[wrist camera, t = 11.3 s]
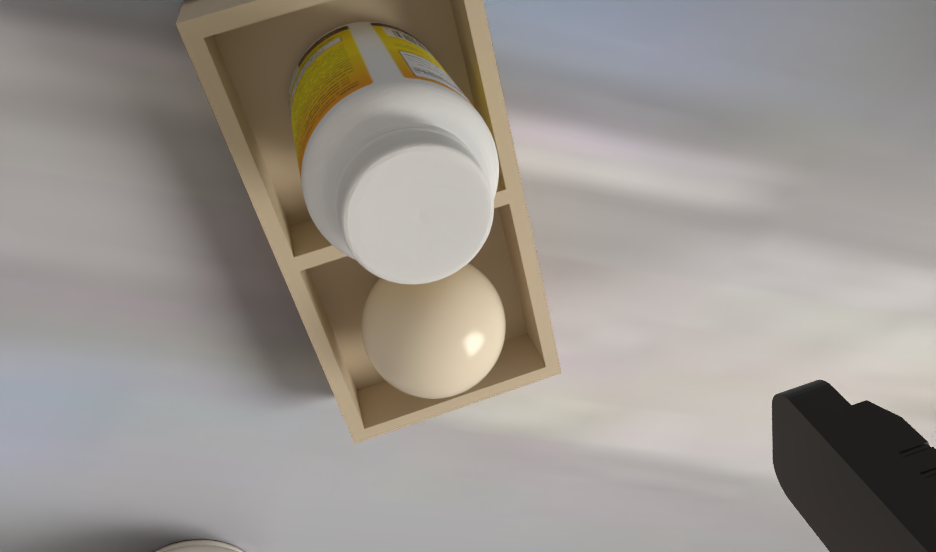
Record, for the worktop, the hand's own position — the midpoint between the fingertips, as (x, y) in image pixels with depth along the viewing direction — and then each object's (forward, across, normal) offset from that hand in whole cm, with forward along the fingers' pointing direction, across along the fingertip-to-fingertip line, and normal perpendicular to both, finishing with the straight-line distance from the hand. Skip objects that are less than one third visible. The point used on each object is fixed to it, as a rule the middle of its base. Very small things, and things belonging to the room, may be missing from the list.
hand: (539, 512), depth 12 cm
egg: (+20, 0, +8) cm, 21 cm away
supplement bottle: (+20, 0, -1) cm, 20 cm away
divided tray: (+20, 0, +4) cm, 21 cm away
